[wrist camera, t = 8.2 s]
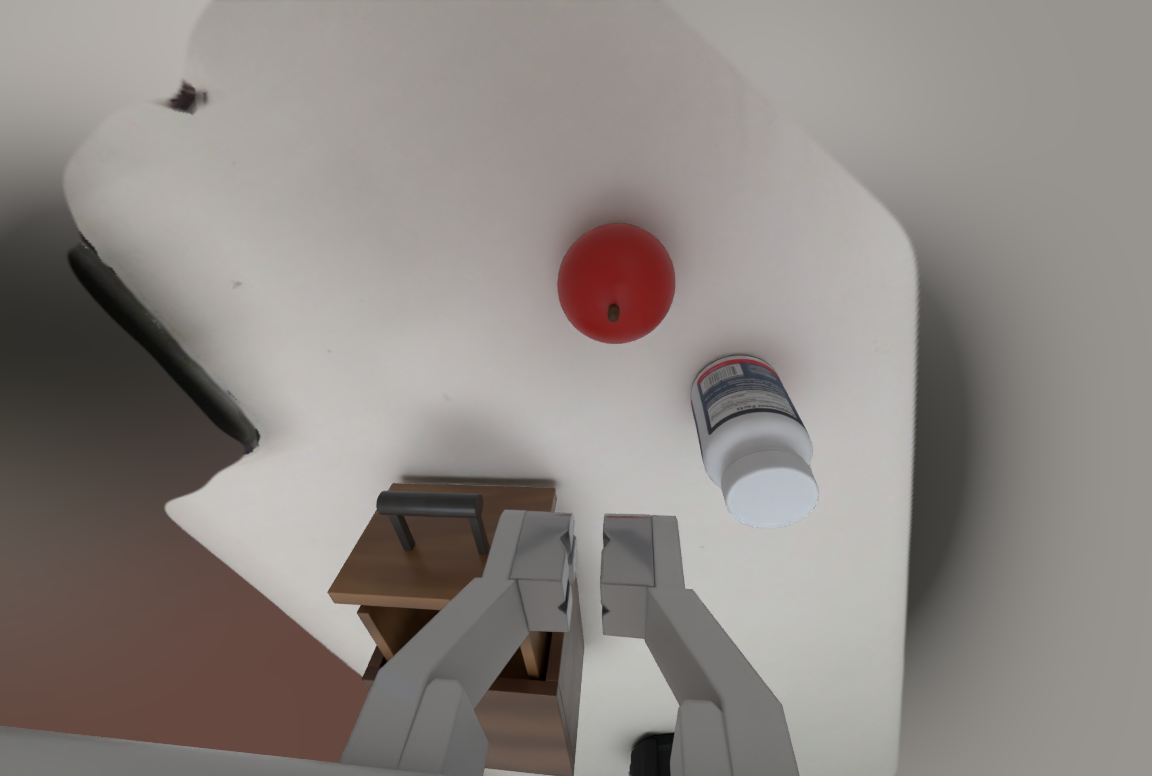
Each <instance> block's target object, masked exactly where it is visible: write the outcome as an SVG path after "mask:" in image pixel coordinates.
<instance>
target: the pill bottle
mask: <svg viewBox="0 0 1152 776" xmlns="http://www.w3.org/2000/svg"><path fill="white" fill-rule="evenodd" d="M691 405H692V410H693V415H694V419H695V424H696V428H697V433H698V438H699V444H700V449H701V454H702V460H703V464H704V467H705V470H706V472H707V474H708V476H709V477H710V479H711V480H712V481H713V482H714V483H715V484H716V485H717V486H718V487H719V488H721V489H722V492H723V496H724V500H725V503H726V506H727V509H728V511H729V512H730V514H731V515H732V516H733V517H734V518H735V519H736V520H738V521H739V522H741V523H743V524H745V525H748V526H752V527H756V528H778V527H783V526H787V525H790V524H793V523H795V522H797V521H799V520H801V519H802V518H804V517H805V516H807V515H808V514H809V513H810V512H811V511H812V510H813V509H814V507H815V506H816V503H817V501H818V497H819V489H818V486H817V483H816V481H815V479H814V476H813V474H812V471H811V468H810V464H811V461H812V456H813V447H812V442H811V439H810V437H809V434H808V432H807V430H806V428H805V426H804V425H803V423H802V421H801V419H800V417H799V415H798V413H797V411H796V409H795V407H794V405H793V404H792V402H791V400H790V398H789V396H788V394H787V392H786V390H785V388H784V386H783V384H782V383H781V381H780V379H779V377H778V375H777V374H776V372H775V371H774V369H773V368H772V367H771V366H770V365H768V364H767V363H765V362H764V361H762V360H760V359H757V358H754V357H749V356H731V357H726V358H723V359H720V360H717V361H715V362H713V363H712V364H710V365H709V366H707V367H706V368H705V369H704V370H702V372H701V373H700V374H699V375H698V376H697V378H696V380H695V381H694V383H693V386H692V390H691Z"/></svg>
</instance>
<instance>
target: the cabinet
mask: <svg viewBox="0 0 1152 776" xmlns="http://www.w3.org/2000/svg"><path fill="white" fill-rule="evenodd" d="M571 591H572V600H573V602H572V611H571V620H570V628H569V632H552V639H551V646H550V653H549V660H548V667H547V674H546V681H537V680H525V679H513V678H501V677H497V678H496V679H495V681H494V682H493V684H492V685H491V686H490V688H489V689H488V690H487V692H486V693H485V695H484V696H483V697H482V699H481V700H480V701H479V703H478V704H477V706H476V707H475V708H474V712H475V714H476V717H477V719H478V721H479V723H480V725H481V728H482V730H483V732H484V734H485V736H486V739H487V741H488V743H489V748H488V753H487V758H486V763H485V768H489V769H498V770H507V771H517V772H526V773H535V774H544V775H553V776H574V763H575V752H576V740H577V728H578V716H579V704H580V692H581V680H582V668H583V655H584V641H583V632H582V623H581V614H580V605H579V596H578V588H577V579H576V575H575V582H574V583H573V584H572V585H571ZM386 663H387V660H386V659H385V657H384V656H383V654H382V652H381V651H380V649H379V648H378V646H376V648H375V651H374V653H373V655H372V657H371V659H370V662H369V664H368V667H367V669H366V671H365V673H364V675H363V677H362V681H363V682H364V684H365V685H366V686H367V688H368V689H369V691H370V689H371V687H372V685H373V682H374V680H375V678H376V675H377V673H378V671H379V670H380V669H381V668H382V667H383V666H384V665H385V664H386Z"/></svg>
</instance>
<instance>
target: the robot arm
mask: <svg viewBox="0 0 1152 776" xmlns="http://www.w3.org/2000/svg"><path fill="white" fill-rule="evenodd" d="M573 533H574V516H573V514H572V513H558V512H542V511H524V510H504V511H503V513H502V514H501V516H500V519H499V523H498V526H497V529H496V532H495V536H494V539H493V542H492V546H491V549H490V552H489V556H488V559H487V562H486V566H485V569H484V572H483V576H482V578H474V579H473V580H472V581H471V582H470V583H469V584H468V585H467V586H466V587H465V588H464V589H463V590H462V591H461V592H459V593H458V594H457V595H456V596H455V597H454V598H453V599H452V600H451V601H450V602H449V603H448V604H447V605H446V606H445V607H444V608H443V609H442V610H441V611H440V612H439V613H438V614H437V615H436V616H435V617H434V618H433V619H432V620H430V621H429V622H428V623H427V624H426V625H425V626H424V627H423V628H422V629H421V630H420V631H419V632H418V633H417V634H416V635H415V636H414V637H413V638H412V639H411V640H410V641H409V642H408V643H407V644H406V645H405V646H404V647H403V648H402V649H400V650H399V651H398V652H397V653H396V654H395V655H394V656H393V657H392V658H391V659H390V660H389V661H388V662H387V663H386V664H385V665H384V666H383V667H382V668H381V669H380V670H379V671H378V673H377V675H376V678H375V680H374V682H373V685H372V687H371V689H370V692H369V694H368V696H367V699H366V701H365V703H364V705H363V708H362V710H361V713H360V715H359V717H358V720H357V722H356V724H355V726H354V729H353V731H352V733H351V736H350V738H349V740H348V743H347V745H346V747H345V750H344V752H343V754H342V756H341V759H340V761H339V763H331V762H322V761H312V760H304V759H294V758H286V757H277V756H267V755H258V754H249V753H240V752H231V751H222V750H212V749H204V748H195V747H186V746H177V745H168V744H159V743H149V742H141V741H131V740H121V739H113V738H104V737H95V736H86V735H77V734H68V733H59V732H50V731H41V730H31V729H22V728H12V727H4V726H0V776H483V773H484V768H485V763H486V758H487V753H488V748H489V743H488V741H487V739H486V736H485V734H484V732H483V730H482V728H481V725H480V723H479V721H478V719H477V717H476V714H475V712H474V708H475V707H476V706H477V704H478V703H479V701H480V700H481V699H482V697H483V696H484V695H485V693H486V692H487V690H488V689H489V688H490V686H491V685H492V684H493V682H494V681H495V679H496V678H497V677H498V675H499V674H500V673H501V671H502V670H503V668H504V667H505V666H506V664H507V663H508V662H509V660H510V659H511V657H512V656H513V655H514V653H515V652H516V651H517V649H518V648H519V646H520V645H521V644H522V642H523V641H524V640H525V638H526V637H527V635H528V634H529V632H528V631H546V632H569V628H570V620H571V611H572V602H573V600H572V591H571V585H572V584H573V583H574V582H575V575H576V560H577V544H576V537H575V536H574V535H573ZM603 544H604V549H603V550H602V557H601V576H600V590H601V604H602V624H603V635H611V636H622V637H632V638H642V639H645V642H646V644H647V646H648V648H649V650H650V652H651V653H652V655H653V657H654V659H655V661H656V663H657V664H658V666H659V668H660V670H661V672H662V674H663V675H664V677H665V679H666V681H667V683H668V685H669V687H670V688H671V690H672V692H673V694H674V696H675V698H676V699H677V701H678V703H679V705H680V707H679V708H678V714H677V721H676V727H675V734H674V740H673V746H672V753H671V759H670V772H671V776H799V771H798V767H797V763H796V759H795V755H794V751H793V747H792V743H791V739H790V735H789V731H788V727H787V723H786V719H785V714H784V710H783V706H782V704H781V703H780V702H779V700H778V699H777V698H776V697H775V695H774V694H773V693H772V691H771V690H770V689H769V687H768V686H767V685H766V684H765V682H764V681H763V680H762V678H761V677H760V676H759V675H758V673H757V672H756V671H755V669H754V668H753V667H752V666H751V664H750V663H749V662H748V660H747V659H746V658H745V656H744V655H743V654H742V653H741V651H740V650H739V649H738V647H737V646H736V645H735V644H734V642H733V641H732V640H731V638H730V637H729V636H728V634H727V633H726V632H725V631H724V629H723V628H722V627H721V625H720V624H719V623H718V622H717V620H716V619H715V618H714V616H713V615H712V614H711V613H710V611H709V610H708V609H707V607H706V606H705V605H704V603H703V602H702V601H701V600H700V598H699V597H698V596H697V594H696V593H695V592H694V591H693V589H685V584H684V575H683V566H682V557H681V548H680V539H679V530H678V521H677V519H676V517H675V516H660V515H652V516H651V515H644V514H605V515H604V524H603Z"/></svg>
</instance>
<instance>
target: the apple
mask: <svg viewBox="0 0 1152 776" xmlns="http://www.w3.org/2000/svg"><path fill="white" fill-rule="evenodd" d="M557 284H558V295H559V300H560V304H561V307H562V309H563V311H564V313H565V315H566V316H567V318H568V320H569V321H570V322H571V323H572V325H573V326H574V327H575V328H576V329H577V330H578V331H580V332H581V333H583V334H584V335H586V336H587V337H589V338H591V339H594V340H596V341H599V342H603V343H609V344H622V343H628V342H631V341H634V340H637V339H639V338H642V337H644V336H645V335H647V334H649V333H650V332H651V331H652V330H654V329H655V328H656V327H657V326H658V325H659V324H660V323H661V321H662V320H663V319H664V317H665V316H666V314H667V313H668V311H669V309H670V306H671V304H672V301H673V297H674V293H675V273H674V267H673V264H672V261H671V259H670V257H669V255H668V252H667V251H666V249H665V248H664V246H663V245H662V244H661V243H660V242H659V240H657V239H656V238H655V237H654V236H653V235H651V234H650V233H648V232H647V231H645V230H643V229H641V228H639V227H636V226H633V225H629V224H623V223H613V224H606V225H602V226H599V227H596V228H594V229H592V230H590V231H588V232H586V233H585V234H583V235H582V236H581V237H579V238H578V239H577V240H576V241H575V242H574V243H573V244H572V246H571V247H570V248H569V250H568V251H567V253H566V255H565V256H564V258H563V261H562V263H561V266H560V270H559V274H558V282H557Z"/></svg>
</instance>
